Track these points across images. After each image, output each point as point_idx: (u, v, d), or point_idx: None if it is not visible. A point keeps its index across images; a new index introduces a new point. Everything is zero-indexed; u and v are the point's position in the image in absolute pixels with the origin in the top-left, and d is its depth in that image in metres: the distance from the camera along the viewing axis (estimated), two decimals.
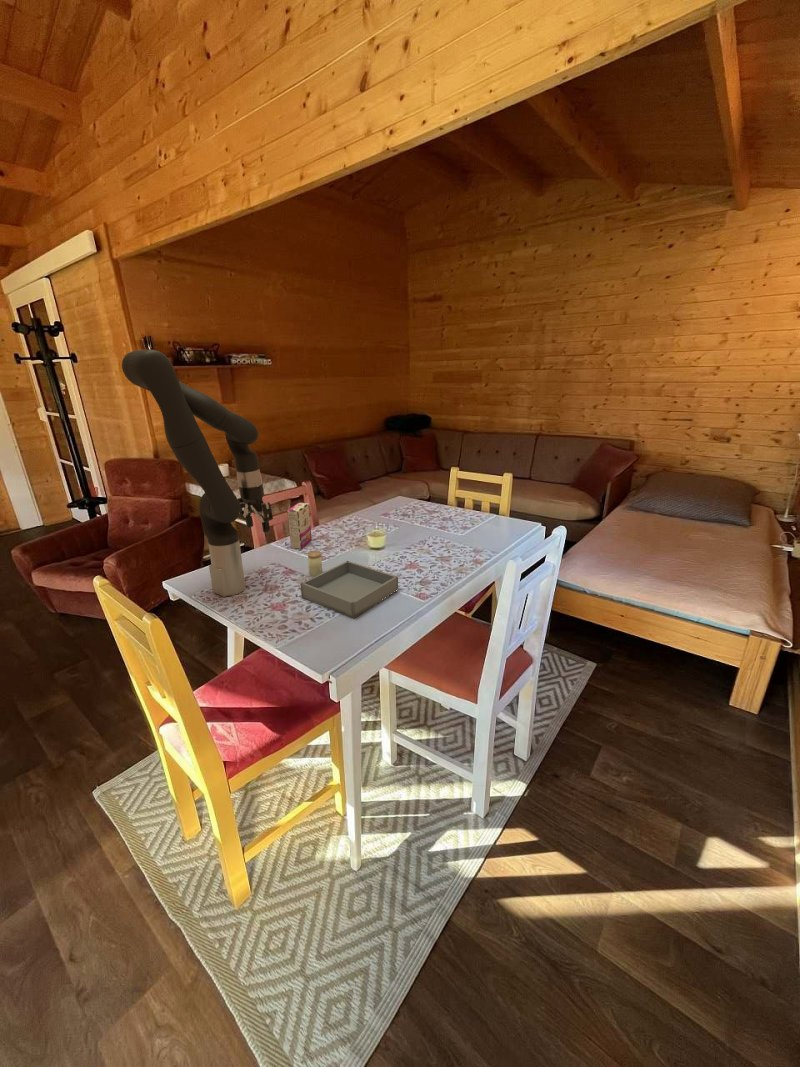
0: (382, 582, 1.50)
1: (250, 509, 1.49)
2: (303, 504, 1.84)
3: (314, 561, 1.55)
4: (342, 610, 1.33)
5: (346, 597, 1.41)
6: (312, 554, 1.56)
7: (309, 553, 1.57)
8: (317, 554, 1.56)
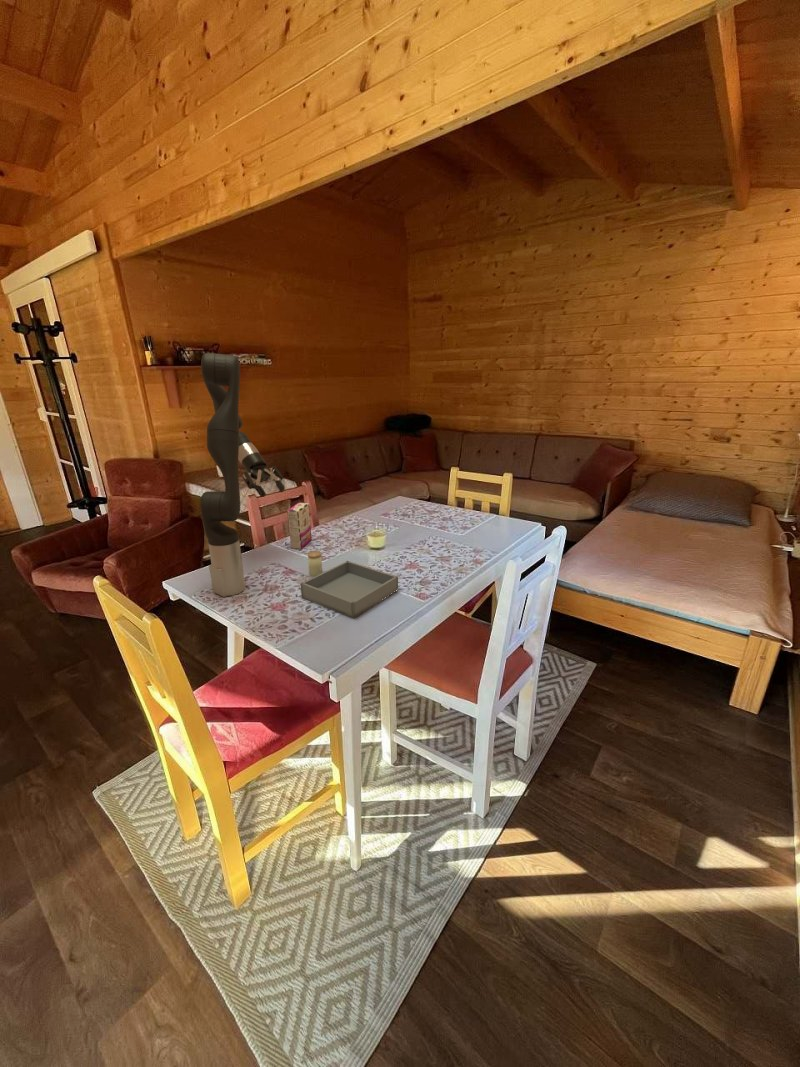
0: (382, 582, 1.50)
1: (262, 475, 1.62)
2: (303, 504, 1.84)
3: (314, 561, 1.55)
4: (342, 610, 1.33)
5: (346, 597, 1.41)
6: (312, 554, 1.56)
7: (309, 553, 1.57)
8: (317, 554, 1.56)
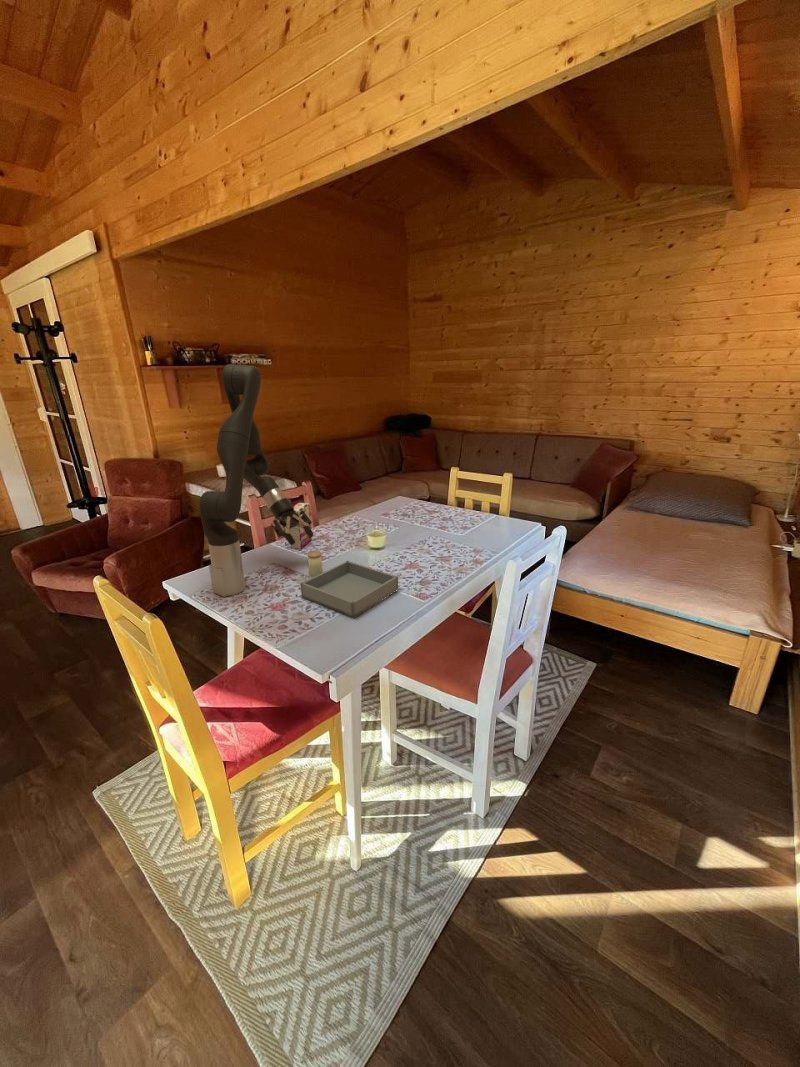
0: (382, 582, 1.50)
1: (291, 522, 1.58)
2: (303, 504, 1.84)
3: (314, 561, 1.55)
4: (342, 610, 1.33)
5: (346, 597, 1.41)
6: (312, 554, 1.56)
7: (309, 553, 1.57)
8: (317, 554, 1.56)
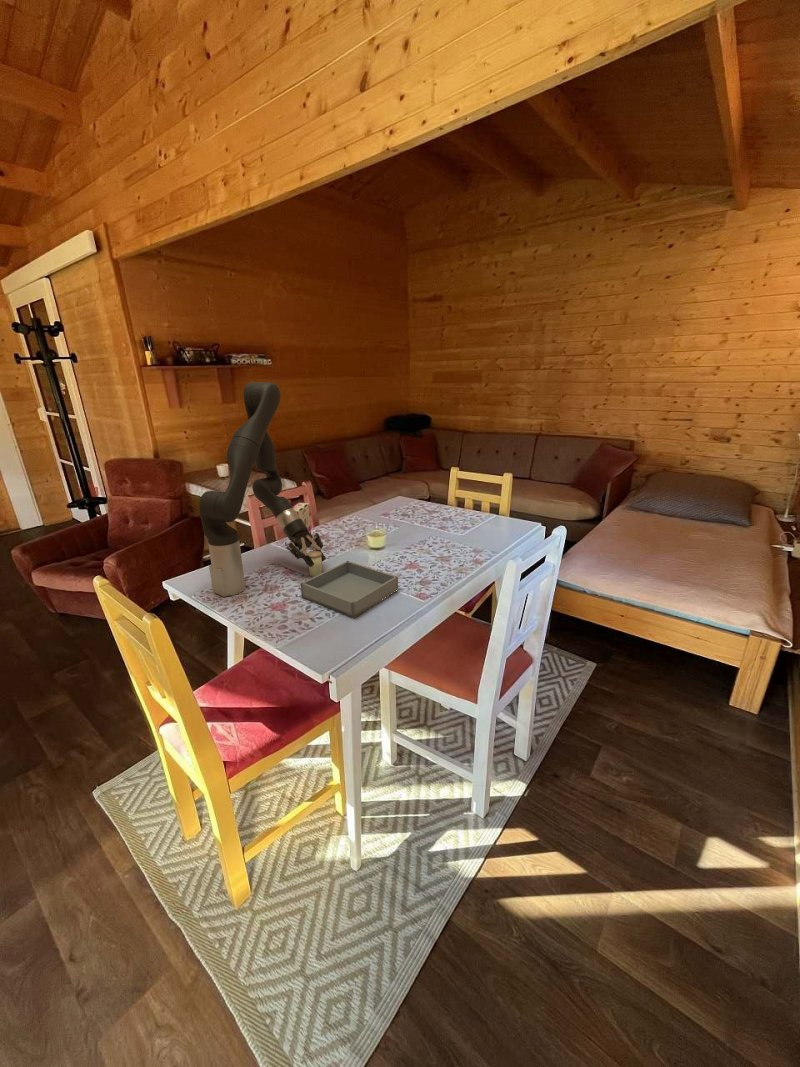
0: (382, 582, 1.50)
1: (304, 543, 1.57)
2: (303, 504, 1.84)
3: (314, 561, 1.55)
4: (342, 610, 1.33)
5: (346, 597, 1.41)
6: (312, 554, 1.56)
7: (309, 553, 1.56)
8: (317, 554, 1.56)
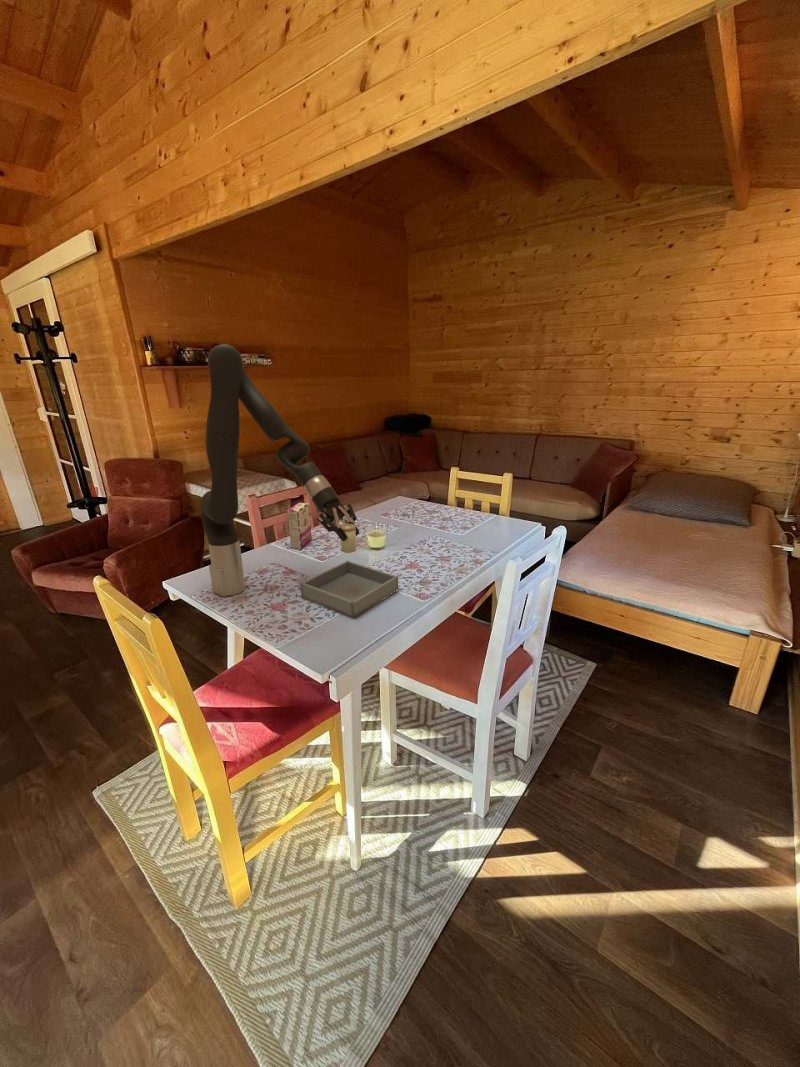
0: (382, 582, 1.50)
1: (336, 514, 1.38)
2: (303, 504, 1.84)
3: (348, 535, 1.36)
4: (342, 610, 1.33)
5: (346, 597, 1.41)
6: (346, 526, 1.37)
7: (342, 526, 1.37)
8: (351, 527, 1.36)
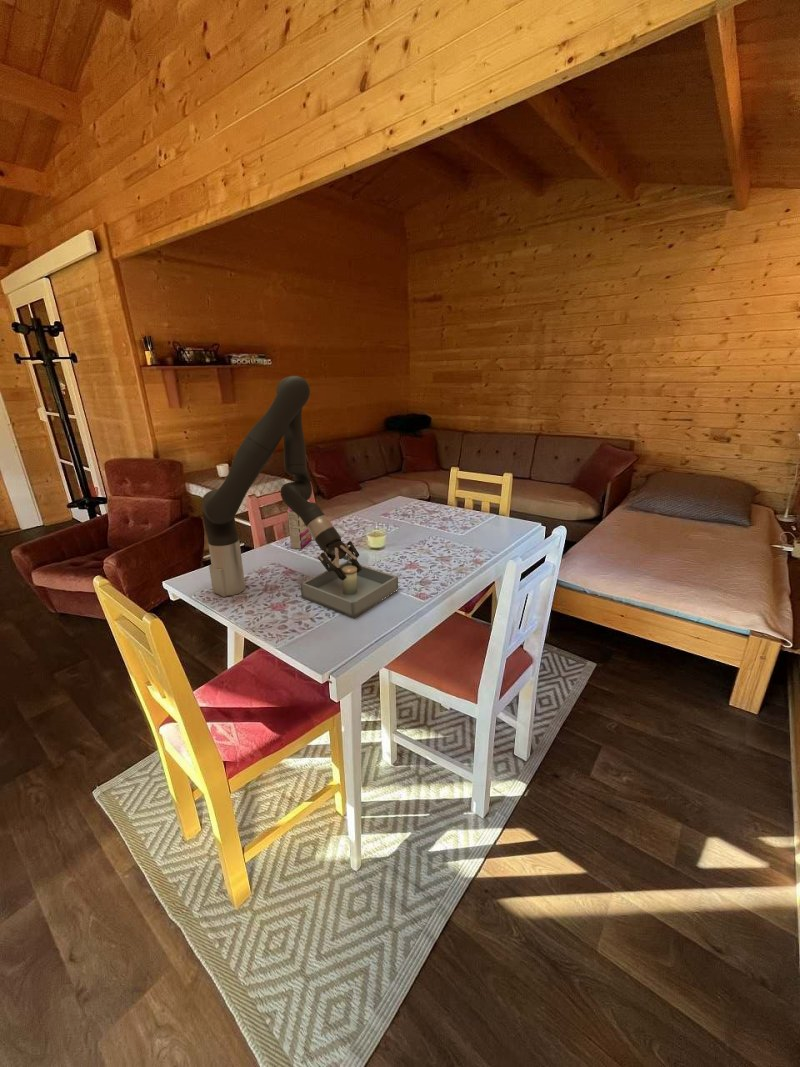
0: (382, 582, 1.50)
1: (338, 554, 1.42)
2: None
3: (349, 577, 1.41)
4: (342, 610, 1.33)
5: (346, 597, 1.41)
6: (347, 569, 1.42)
7: (343, 568, 1.42)
8: (352, 570, 1.41)
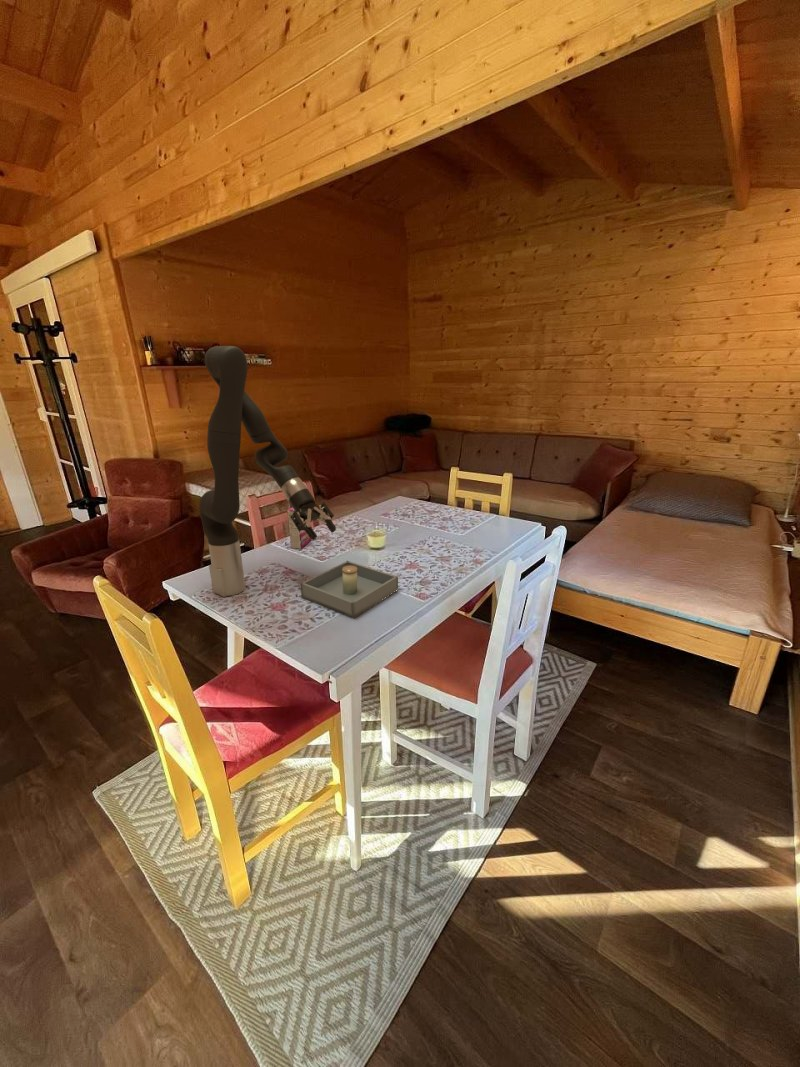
0: (382, 582, 1.50)
1: (312, 515, 1.44)
2: None
3: (350, 577, 1.41)
4: (342, 610, 1.33)
5: (346, 597, 1.41)
6: (348, 569, 1.42)
7: (344, 568, 1.42)
8: (353, 569, 1.41)
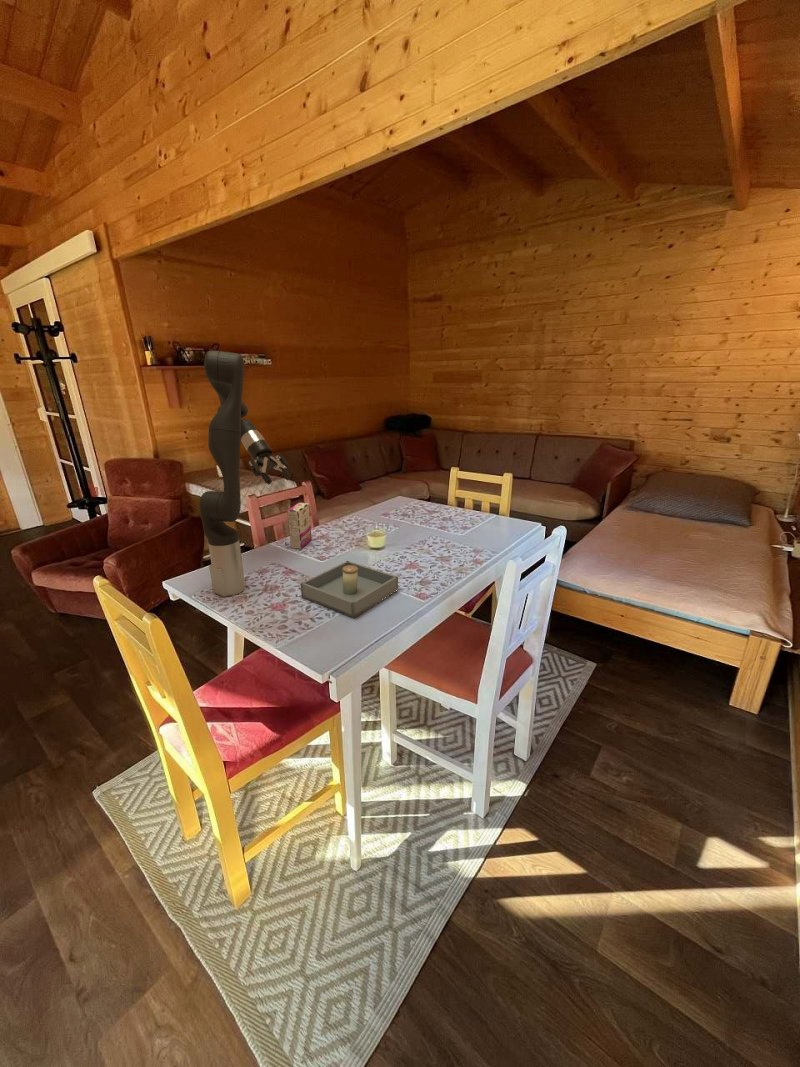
0: (382, 582, 1.50)
1: (268, 463, 1.61)
2: (303, 504, 1.84)
3: (351, 577, 1.41)
4: (342, 610, 1.33)
5: (346, 597, 1.41)
6: (348, 569, 1.42)
7: (344, 568, 1.42)
8: (354, 569, 1.42)
